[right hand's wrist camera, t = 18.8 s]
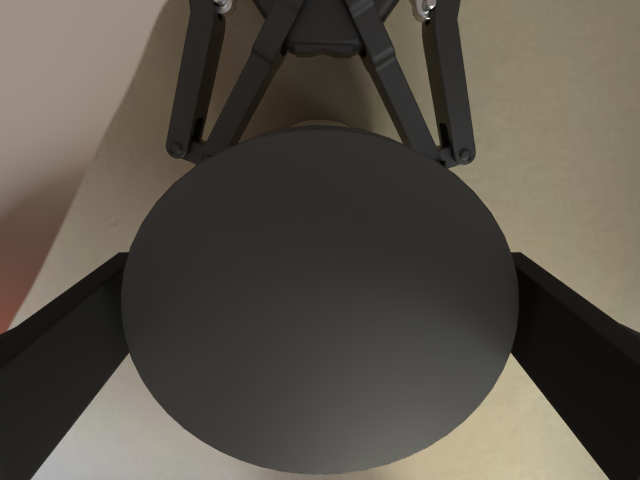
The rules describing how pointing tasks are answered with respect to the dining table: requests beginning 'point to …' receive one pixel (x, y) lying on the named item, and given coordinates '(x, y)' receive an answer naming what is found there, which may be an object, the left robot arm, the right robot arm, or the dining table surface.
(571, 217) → the dining table surface
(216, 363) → the lid
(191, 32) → the left robot arm
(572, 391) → the right robot arm
